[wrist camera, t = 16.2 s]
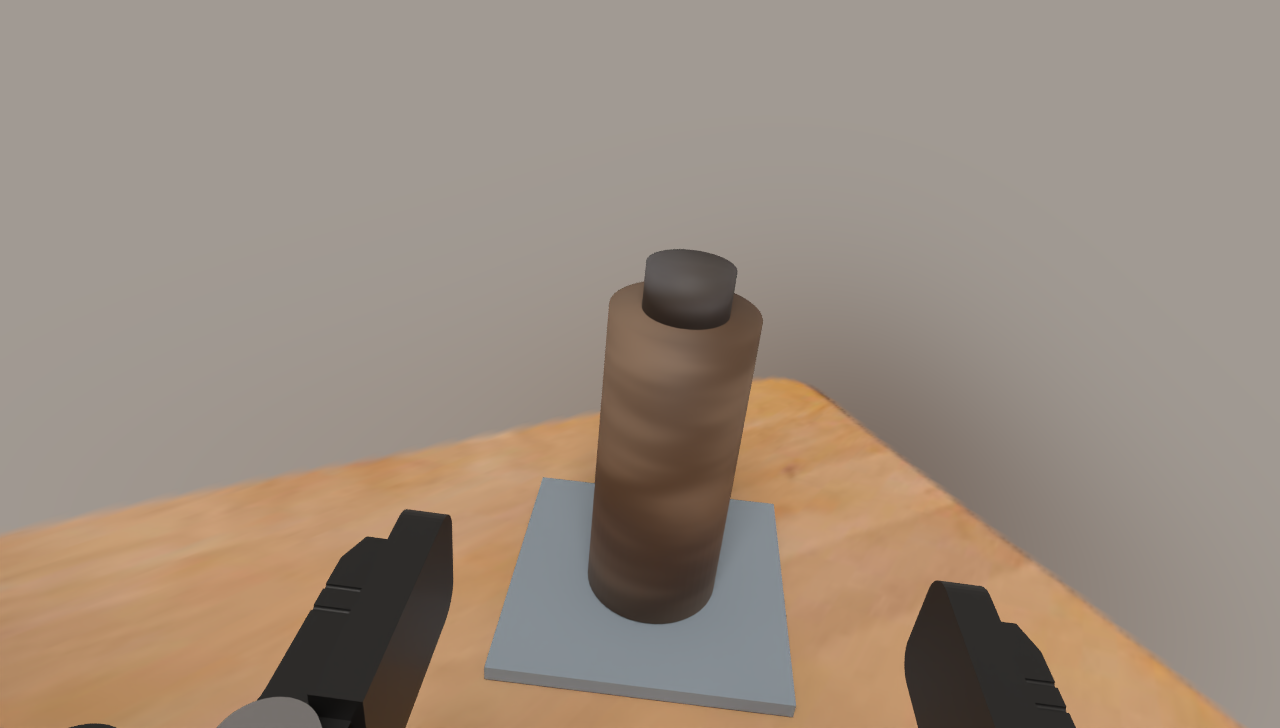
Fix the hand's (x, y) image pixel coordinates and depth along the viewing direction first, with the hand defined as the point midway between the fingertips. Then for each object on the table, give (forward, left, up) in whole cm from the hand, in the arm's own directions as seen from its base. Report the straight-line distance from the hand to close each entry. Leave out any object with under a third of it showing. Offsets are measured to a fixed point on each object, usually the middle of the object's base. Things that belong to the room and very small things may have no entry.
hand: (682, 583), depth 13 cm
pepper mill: (0, +14, -14) cm, 20 cm away
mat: (0, +14, -14) cm, 20 cm away
